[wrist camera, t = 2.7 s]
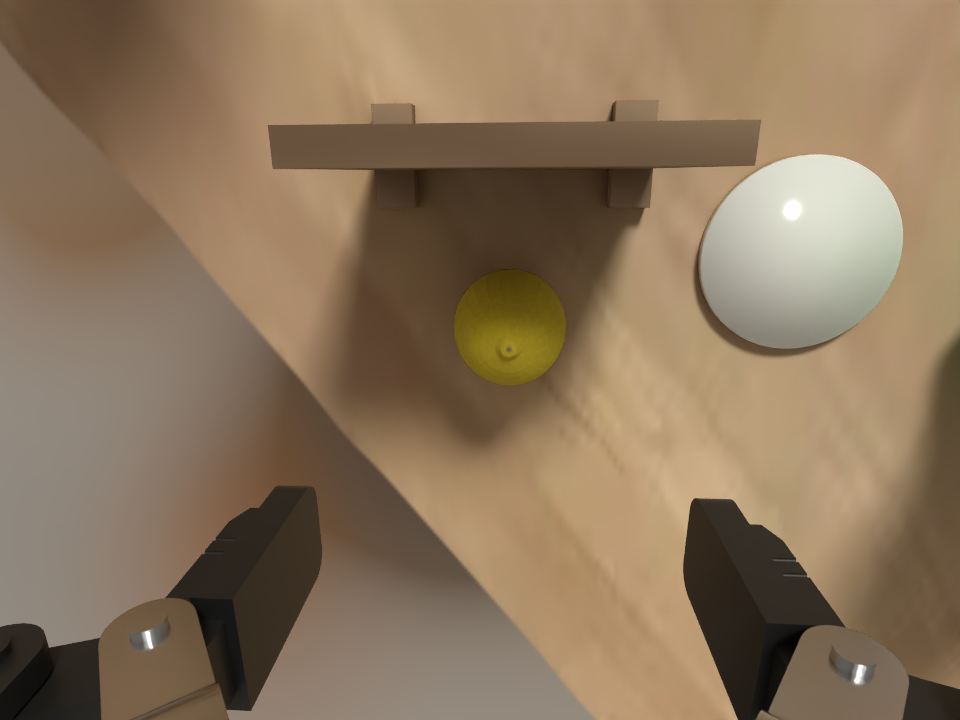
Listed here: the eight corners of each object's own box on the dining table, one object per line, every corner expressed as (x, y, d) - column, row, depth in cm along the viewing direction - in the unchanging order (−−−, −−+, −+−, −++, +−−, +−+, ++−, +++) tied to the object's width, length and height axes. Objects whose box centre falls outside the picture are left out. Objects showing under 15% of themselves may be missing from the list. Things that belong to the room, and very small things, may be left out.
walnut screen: (375, 106, 30) (259, 52, 16) (653, 102, 29) (771, 43, 15) (381, 207, 31) (280, 233, 18) (645, 206, 30) (746, 233, 17)
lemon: (566, 346, 33) (581, 399, 25) (471, 361, 34) (458, 417, 26) (552, 250, 31) (563, 275, 24) (452, 268, 32) (432, 298, 24)
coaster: (709, 155, 29) (713, 155, 29) (915, 153, 29) (923, 153, 28) (688, 344, 32) (691, 347, 32) (873, 346, 32) (880, 349, 31)
